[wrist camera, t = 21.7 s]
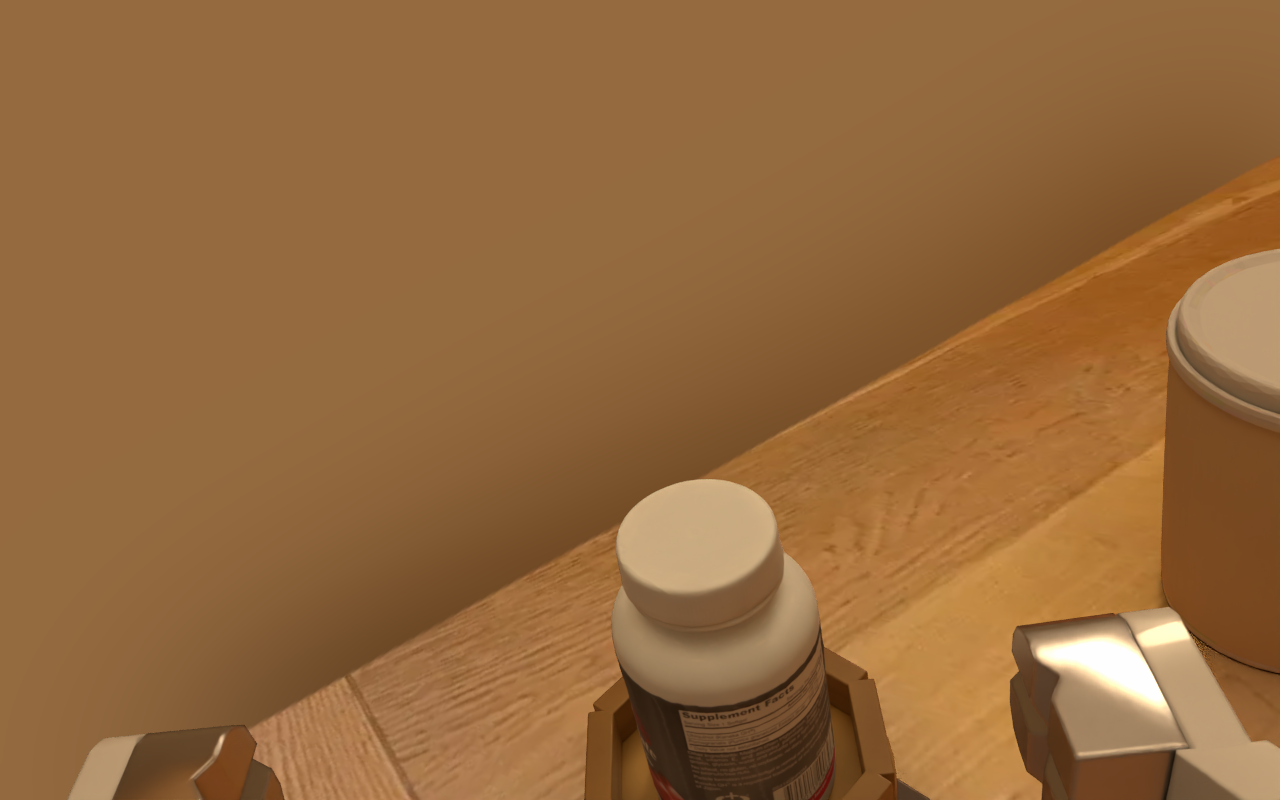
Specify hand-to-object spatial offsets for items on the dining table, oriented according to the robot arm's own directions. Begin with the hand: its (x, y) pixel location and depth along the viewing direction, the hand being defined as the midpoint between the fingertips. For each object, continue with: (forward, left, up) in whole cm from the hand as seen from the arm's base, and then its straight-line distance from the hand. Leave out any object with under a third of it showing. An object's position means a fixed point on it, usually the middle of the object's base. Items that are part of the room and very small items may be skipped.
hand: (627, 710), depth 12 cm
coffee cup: (+28, +1, -24) cm, 37 cm away
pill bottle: (+9, +9, -19) cm, 22 cm away
